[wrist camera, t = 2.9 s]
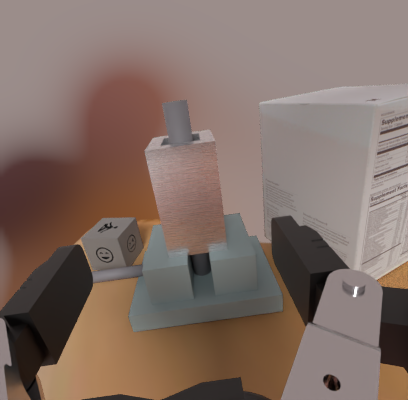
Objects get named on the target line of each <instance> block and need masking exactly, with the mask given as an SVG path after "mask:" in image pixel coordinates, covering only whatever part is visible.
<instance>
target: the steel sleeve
mask: <svg viewBox="0 0 408 400" xmlns="http://www.w3.org/2000/svg"><path fill="white" fill-rule="evenodd" d="M192 138H193V141H191V142H184V143H177V144H170V143H169V137H168V136H162V137H155V138H153V139H152V141H151V142H150V144H149V145H148V147H147V148H146V150H145V155H146V160H147V164H148V168H149V172H150V177H151V181H152V185H153V190H154V194H155V199H156V203H157V208H158V212H159V216H160V221H161V225H162V229H163V234H164V238H165V242H166V247H167V251H168V255H169V258H174V257H181V256H188V255H195V254H202V253H209V252H216V251H223V250H227V241H226V232H225V223H224V214H223V206H222V197H221V188H220V180H219V171H218V162H217V153H216V144H215V140H214V138H213V136H212V133H211V131H210V130H203V131H196V132H192Z"/></svg>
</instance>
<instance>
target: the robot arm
mask: <svg viewBox="0 0 408 400" xmlns="http://www.w3.org/2000/svg"><path fill="white" fill-rule="evenodd" d="M271 239H272V255H273V259H274V263H275V265H276V267H277V269H278V271H279V273H280V275H281V277H282V279H283V281H284V283H285V285H286V287H287V289H288V291H289V293H290V295H291V297H292V299H293V301H294V304H295V306H296V308H297V310H298V312H299V314H300V316H301V318H302V320H303V322H304V324H305V326H306V329H305V332H304V334H303V337H302V340H301V343H300V346H299V349H298V352H297V354H296V357H295V360H294V363H293V366H292V369H291V372H290V374H289V377H288V380H287V383H286V386H285V389H284V392H283V394H282V397H281V400H378V387H379V372H380V363H383V364H389V365H395V366H400V367H404V368H405V370H406V371H407V373H408V289H400V288H390V287H383V286H381V285H380V284H379V283H378V281H377V280H375V279H374V278H373V277H371V276H370V275H368V274H366V273H363V272H361V271H357V270H353V269H350V268H349V267H348V266H347V265H346V264H345V263H344V261H343V260H342V259H341V258H340V257H339V256H338V255H337V254H336V252H335V251H334V250H333V249H332V248H331V247H329V245H328V243H327V242H326V241H325V240H323V238H322V237H321V236H320V234H319V233H318V232H317V231H315V230H314V229H312V228H310V227H308V226H306V225H303V226H299V225H298V224H297V222H296V221H295V220H294V219H293V217H292V216H291V215H289V216H281V217H274V218H272V220H271ZM92 287H93V275H92V272H91V269H90V267H89V264H88V262H87V259H86V256H85V254H84V251H83V249H82V247H81V246H80V245H70V246H63V247H59V248H58V249H57V250H56V251H55V252H54V253H53V255H52V256H51V257H50V258H49V260H48V261H46V262H44V263H43V264H42V265H41V266H39V267H38V268H37V269H35V270H34V271H33V272H32V274H31V275H30V276H29V277H28V279H27V281H25V282H24V283H23V285H22V286H21V287H20V290H18V291H17V292H16V293H15V294H14V296H13V297H12V298H11V299H10V300H9V301H8V303H7V304H6V305H5V306H4V307H3V309H2V310H1V311H0V400H45V397H44V393H43V389H42V385H41V381H40V378H39V377H38V375H37V372H38V371H39V369H40V367H41V366H47V365H54V364H57V362H58V360H59V358H60V356H61V353H62V351H63V349H64V347H65V345H66V343H67V341H68V339H69V336H70V334H71V332H72V330H73V328H74V326H75V324H76V322H77V319H78V317H79V315H80V313H81V311H82V309H83V307H84V305H85V302H86V300H87V298H88V296H89V294H90V292H91V290H92ZM83 400H152V399H146V398H140V397H134V396H128V395H122V394H118V395H111V396H104V397H97V398H90V399H83ZM162 400H271V399H269V398H266V397H264V396H262V395H259V394H255V393H252V392H246V391H243V388H242V382H241V377H239V378H232V379H225V380H217V381H210V382H203V383H200V384H197V385H195V386H193V387H190V388H188V389H186V390H183V391H181V392H179V393H176V394H174V395H172V396H169V397H167V398H165V399H162Z"/></svg>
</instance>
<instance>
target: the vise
mask: <svg viewBox="0 0 408 400" xmlns="http://www.w3.org/2000/svg"><path fill="white" fill-rule="evenodd" d="M162 105H163V111H164V116H165V121H166V127H167V132H168V137H169V143H170V144H177V143H184V142H191V141H193V138H192V131H191V125H190V118H189V111H188V105H187V100H180V101H173V102H167V103H163V104H162ZM224 223H225V232H226V241H227V250H223V251H216V252H209V253H202V254H195V255H188V256H181V257H174V258H169V255H168V251H167V247H166V242H165V238H164V234H163V229H162V225H161V224H160V225H153V229H152V233H151V237H150V241H149V245H148V249H147V251H145V254H144V258H143V262H142V265H135V266H128V267H121V268H114V269H107V270H100V271H93V272H92V275H93V283H98V282H105V281H112V280H119V279H126V278H134V277H138V281H137V285H136V289H135V293H134V297H133V300H132V304H131V308H130V312H129V316H128V317H129V320H130V323H131V326H132V329H133V331H134V332H137V331H145V330H152V329H159V328H166V327H173V326H180V325H187V324H194V323H201V322H208V321H216V320H223V319H230V318H237V317H244V316H251V315H258V314H265V313H272V312H280V311H283V294H282V292H281V290H280V287H279V285H278V283H277V281H276V279H275V276H274V274H273V272H272V270H271V267H270V265H269V263H268V261H267V258H266V256H265V254H264V252H263V249H262V247H261V245H260V243H259V241H258V238H257V236H250V237H249V236H248V234H247V231H246V229H245V226H244V224H243V221H242V219H241V216H240V213H237V214H230V215H224Z"/></svg>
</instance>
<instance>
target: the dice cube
mask: <svg viewBox="0 0 408 400" xmlns="http://www.w3.org/2000/svg"><path fill="white" fill-rule="evenodd" d="M81 240H82V243H83V245H84V248H85V251H86V253H87V256H88V258H89V261H90V263H91V266H92V269H93V270H107V269H114V268H121V267H128V266H132V264H133V263H134V261H135V260H136V258H137V257H138V255H139V254H140V252H141V251H142V249H143V248H144V247H143V243H142V239H141V236H140V232H139V229H138V225H137V221H136V218H103V219H101V220H100V221H99V222H98V223H97V224H96V225H95V226H94V227H93V228H92V229H90V230H89V231H88V232H87V233H86V234H85V235H84V236H83V237H82V238H81Z"/></svg>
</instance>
